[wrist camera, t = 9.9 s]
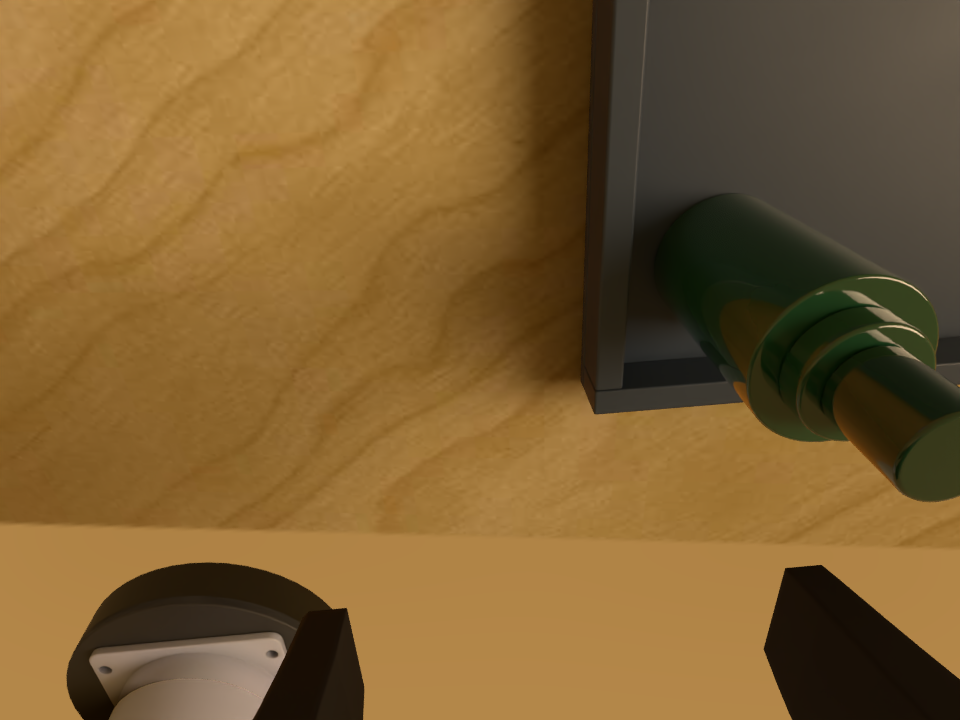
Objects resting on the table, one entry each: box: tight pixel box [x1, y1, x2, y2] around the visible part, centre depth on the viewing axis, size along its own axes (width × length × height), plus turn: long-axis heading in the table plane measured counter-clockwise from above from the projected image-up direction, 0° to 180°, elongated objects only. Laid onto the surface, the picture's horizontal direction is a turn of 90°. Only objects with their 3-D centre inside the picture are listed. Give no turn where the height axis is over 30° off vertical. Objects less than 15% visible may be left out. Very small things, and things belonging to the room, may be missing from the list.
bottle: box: [654, 194, 960, 502], centre depth 14 cm, size 4×4×9 cm
